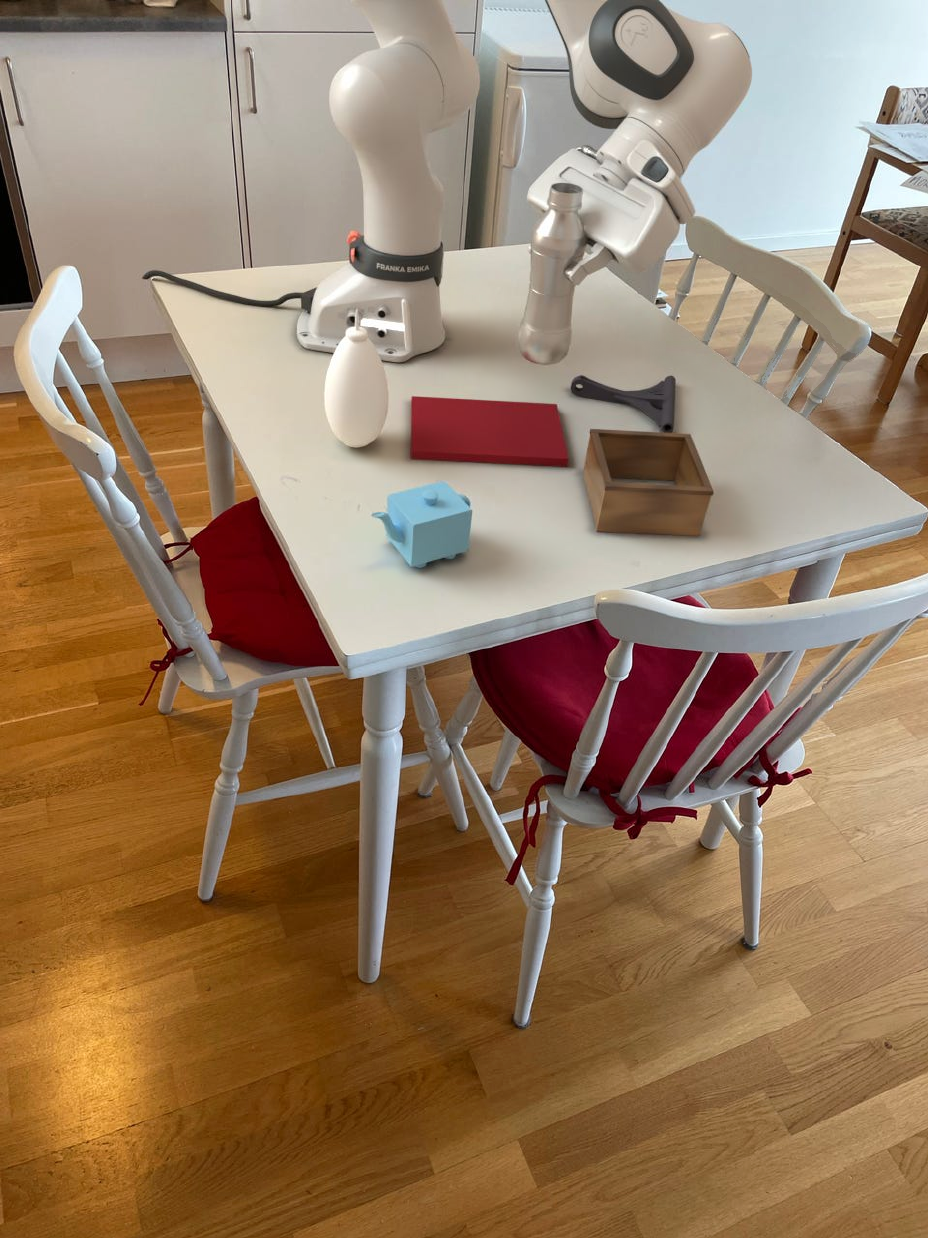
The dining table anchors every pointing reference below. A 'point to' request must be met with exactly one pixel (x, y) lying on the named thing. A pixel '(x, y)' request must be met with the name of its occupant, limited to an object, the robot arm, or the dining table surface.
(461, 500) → the teapot
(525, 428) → the cushion mat
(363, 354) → the white air blower bulb
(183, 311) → the dining table surface
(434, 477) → the dining table surface
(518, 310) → the dining table surface
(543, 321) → the metal bottle
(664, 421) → the squeegee
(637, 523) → the wooden box
